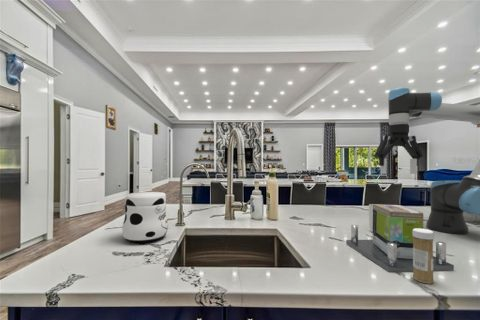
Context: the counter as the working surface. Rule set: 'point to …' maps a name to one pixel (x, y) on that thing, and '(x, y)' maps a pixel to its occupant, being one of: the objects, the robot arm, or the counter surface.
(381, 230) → the tea box
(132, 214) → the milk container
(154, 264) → the counter surface
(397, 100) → the robot arm
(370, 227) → the mug
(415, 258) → the sprinkles bottle
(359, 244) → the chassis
